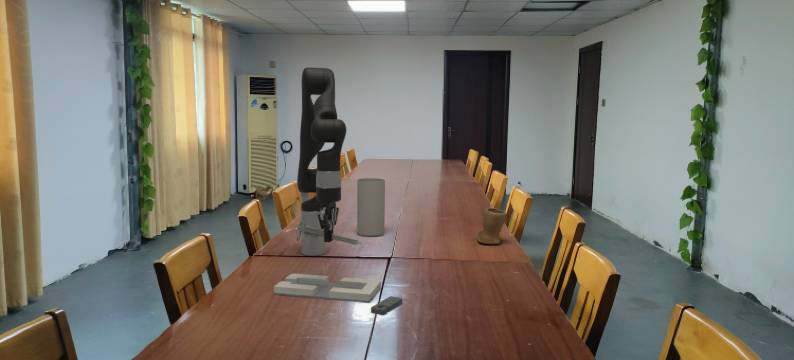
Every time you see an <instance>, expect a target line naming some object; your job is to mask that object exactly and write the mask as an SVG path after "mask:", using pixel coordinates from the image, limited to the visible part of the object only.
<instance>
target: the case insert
mask: <svg viewBox="0 0 794 360" xmlns="http://www.w3.org/2000/svg"><path fill="white" fill-rule="evenodd" d="M273 288H274V289H273V295H276V296H277V295H278V296H288V297H289V296H291V297H298V298H312V299H313V298H314V299H322V300H323V299H324V300H332V301H333V300H335V301H345V302H357V303H368V304H370V303H371V302H372V301H373V300H374V298H375V297H376V295H377V294H378V293H379V292H380V290H381V289H382V280H380V279H369V278H368V279H367V278H356V277H344V276H343V277H342V278H341V279H340V280H339V282H331V281H330V282H329V275H320V274H319V275H315V274H304V273H295V272H294V273H291V274H289V275H288V276H287V277H285V279H284V281H283V280H281V281H279V282H278V283H277V284H275V285H274V286H273Z"/></svg>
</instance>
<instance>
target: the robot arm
mask: <svg viewBox="0 0 794 360" xmlns="http://www.w3.org/2000/svg"><path fill="white" fill-rule="evenodd" d="M335 79H336V78H335V73H334V71H333V70H332V69H330V68H327V67H310V66H307V67H305V68H304V69H303V70H302V73H301V115H300V116H301V117H300V118H301V120H300V128H299V132H300V133H299V162H298V168H297V169H298V170H297V177H296V181H297V183H296V185H297V189H298V192H299V193H303V194H307V193H309V194H311V193H312V194H313V193H315V195H314V196H313V197H311V198H310V199H308V200H304V201H303V202H301V204H300V207H301V208H300V209H301V211H300V212H301V214H300V215H301V221H302V222H303V224H304V223H305V222H306V224H305V226H309V227H313V228H317V229H320V231H324V237H322V236H319V237H318V238H316V237H312V236H310V235H309V234H308V236H307V238H306V240H305V241H304V242H302V240H303V239H302V238H303V234H304V232H301V254H302V255H304V256H321V255H325V253H326V243H331V242H332V241H334V239H332V234H334V229H335V226H337V222H338V216H339V210H340V207H337V202H341V200H342V174H341V155H342V149H343V145H344V141H345V139H346V135H347V126H346V123H345V122H344V120H342V119H338V113H337V107H336V80H335ZM312 95H314V96H318V97H317V98H316V99H315V101H314V102H313V99H312ZM326 143H329V144H331V143H333V146H332V147H331V148H329V149H325V150H322V149H323V148H324V146H325V144H326ZM315 157H316V168H309V167H310V164H311V163H312V161H313V160H314V158H315ZM301 221H300V222H301Z"/></svg>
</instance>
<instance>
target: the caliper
mask: <svg viewBox="0 0 794 360" xmlns="http://www.w3.org/2000/svg"><path fill="white" fill-rule="evenodd" d="M305 224H306V222H305V223H304V224H303V222H302V221H300V223H299V224H298V225H297V228H296V241H297V242H300V238H301V243H302V242H304V241H305V240H306V238H307V236H308V234H309V235H310V236H312V237H316V238H318V237H319V236H322V237H324V231H320V229H317V228H313V227H309V226H305ZM302 232H304V234H303V238H302V237H301V236H302ZM302 239H303V240H302ZM332 239H333V241H340V242H343V243H348V244H351V245H355V246H357V245H362V244H363V243H362V242H361V241H359V239H357V238H353V237H349V236H344V235H340V234H336V233H333V234H332Z"/></svg>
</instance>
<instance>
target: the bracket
mask: <svg viewBox="0 0 794 360" xmlns="http://www.w3.org/2000/svg"><path fill="white" fill-rule="evenodd" d="M401 305H403V298H402V297H399V296H392V295H390V296H388V297H386V298H385V299H383V300H381V301H379V302H378V303H376V304H373V306H370V313H371V314H375V315H379V316H380V315H381V316H385V315H387V314H388V313H390V312H392V311H394V309H396V308H398V307H399V306H401Z"/></svg>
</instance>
